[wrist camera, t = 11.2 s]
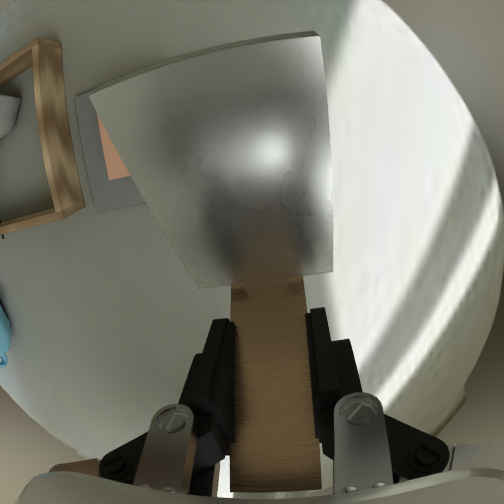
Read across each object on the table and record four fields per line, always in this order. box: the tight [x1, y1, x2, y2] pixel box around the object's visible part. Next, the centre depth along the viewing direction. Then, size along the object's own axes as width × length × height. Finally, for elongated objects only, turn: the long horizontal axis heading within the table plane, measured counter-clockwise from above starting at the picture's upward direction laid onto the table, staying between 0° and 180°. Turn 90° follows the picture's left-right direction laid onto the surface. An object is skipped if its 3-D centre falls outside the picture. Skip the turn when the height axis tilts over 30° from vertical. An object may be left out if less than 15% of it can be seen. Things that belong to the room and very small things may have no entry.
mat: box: [75, 89, 146, 212], centre depth 25 cm, size 12×16×1 cm
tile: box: [97, 114, 130, 180], centre depth 24 cm, size 2×7×8 cm
